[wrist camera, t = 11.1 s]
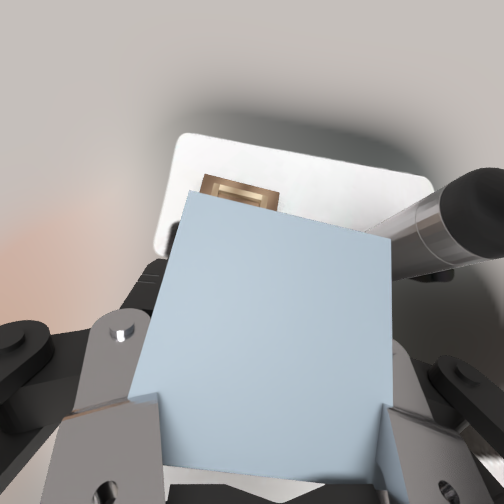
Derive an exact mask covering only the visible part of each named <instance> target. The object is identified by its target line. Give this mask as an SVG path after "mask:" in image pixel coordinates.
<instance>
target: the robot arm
mask: <svg viewBox="0 0 504 504" xmlns="http://www.w3.org/2000/svg"><path fill="white" fill-rule="evenodd" d="M364 233H368V234H372V235H376V236H380V237H384V238H389V239H391V282H392V281H397V280H402V279H406V278H411V277H416V276H420V275H425V274H429V273H434V272H439V271H443V270H448V269H453V268H457V267H462V266H466V265H470V264H475V263H480V262H484V261H489V260H493V259H498V258H503V257H504V169H499V168H480V169H477V170H474V171H471V172H469V173H467V174H465V175H463V176H461V177H460V178H458V179H456V180H454V181H453V182H451V183H449V184H448V185H446V186H444V187H442V188H441V189H439V190H437V191H435V192H434V193H432V194H430V195H428V196H427V197H425V198H423V199H422V200H420V201H418V202H416V203H415V204H413V205H411V206H409V207H408V208H406V209H404V210H402V211H401V212H399V213H397V214H396V215H394V216H392V217H390V218H389V219H387V220H385V221H383V222H382V223H380V224H378V225H376V226H375V227H373V228H371V229H369V230H368V231H366V232H364ZM170 254H171V253H170ZM169 257H170V255H169ZM169 257H168V259H167V260H165V259H156V260H155V261H153V262H151V263H150V264H148V265H147V267H146V268H145V270H144V272H143V273H142V275H141V276H140V278H139V279H138V282H136V284H135V285H134V287H133V289H132V290H131V292H130V293H129V295H128V297H127V298H126V299H125V301H124V303H123V304H122V306H121V307H120V309H119V310H116V311H112V312H110V313H108V314H106V315H104V316H102V317H101V318H99V319H98V320H97V321H96V322H95V323H94V325H93V326H92V328H89V329H85V330H80V331H74V332H68V333H61V334H54V335H51V334H50V331H49V328H48V327H47V325H45V324H44V323H42V322H39V321H32V320H23V321H16V322H11V323H7V324H4V325H1V326H0V495H1V493H2V492H3V491H4V490H5V489H6V487H7V486H8V485H9V484H10V483H11V481H12V480H13V479H14V478H15V477H16V476H17V474H18V473H19V472H20V471H21V470H22V468H23V467H24V466H25V465H26V464H27V463H28V461H29V460H30V459H31V458H32V456H33V455H34V454H35V453H36V452H37V451H38V449H39V448H40V447H41V446H42V445H43V444H44V442H45V441H46V440H47V439H48V438H49V436H50V435H51V434H52V433H53V432H54V430H55V429H56V428H57V427H58V426H59V425H60V426H59V430H58V433H57V436H56V440H55V444H54V448H53V453H52V456H51V460H50V465H49V469H48V473H47V477H46V481H45V485H44V489H43V493H42V497H41V502H40V504H504V488H503V487H502V486H501V484H500V483H499V482H498V481H497V480H496V479H495V478H494V477H493V475H492V474H491V473H490V472H489V471H488V470H487V469H486V468H485V466H484V465H483V464H482V463H481V462H480V461H479V460H478V459H477V457H476V456H475V455H474V454H473V453H472V452H471V451H470V450H469V448H468V447H467V445H466V443H465V441H464V440H463V439H462V437H461V436H460V435H459V433H460V432H461V431H462V430H463V429H465V428H466V427H467V426H468V425H469V424H471V426H472V427H473V428H474V429H475V430H476V431H477V432H478V433H479V434H480V435H481V436H482V437H483V438H484V439H485V440H486V441H487V442H488V443H489V444H490V445H491V446H492V447H493V448H494V449H495V450H496V451H497V452H498V453H499V454H500V456H501V457H502V458H503V459H504V392H503V391H502V390H501V389H500V388H499V387H497V386H496V385H495V384H494V383H493V382H491V381H490V380H489V379H488V378H487V377H485V376H484V375H483V374H482V373H481V372H479V371H478V370H477V369H475V368H474V367H472V366H471V365H469V364H468V363H466V362H464V361H462V360H460V359H458V358H455V357H452V356H447V355H444V356H440V357H439V358H438V359H437V360H436V361H435V363H434V364H433V365H430V364H427V363H424V362H421V361H419V360H416V359H413V358H410V357H409V356H408V354H407V352H406V351H405V349H404V348H403V347H402V346H401V345H400V344H399V343H398V342H396V341H395V340H394V339H392V366H393V406H390V405H387V404H384V403H382V411H381V418H380V426H379V433H378V441H377V448H376V456H375V462H376V463H377V464H378V465H379V467H380V468H381V470H382V473H383V475H384V479H385V482H386V487H387V491H385V490H376V489H375V488H374V485H373V484H325V485H324V486H322V487H319V488H317V489H315V490H312V491H310V492H308V493H306V494H303V495H301V496H299V497H296V498H294V499H292V500H289V501H287V502H284V503H275V502H272V501H269V500H267V499H264V498H261V497H258V496H256V495H253V494H250V493H247V492H245V491H242V490H239V489H236V488H234V487H231V486H228V485H226V484H171V485H170V490H169V495H168V501H166V502H165V492H164V478H163V464H162V450H161V436H160V422H159V408H158V395H157V392H154V393H149V394H145V395H140V396H135V397H131V398H128V394H129V391H130V388H131V384H132V381H133V378H134V374H135V371H136V368H137V364H138V361H139V358H140V354H141V351H142V348H143V344H144V341H145V337H146V334H147V331H148V327H149V324H150V321H151V317H152V314H153V311H154V307H155V304H156V301H157V297H158V294H159V291H160V287H161V284H162V281H163V277H164V274H165V270H166V267H167V264H168V260H169ZM60 423H61V424H60Z"/></svg>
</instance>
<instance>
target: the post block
mask: <svg viewBox="0 0 504 504" xmlns="http://www.w3.org/2000/svg"><path fill="white" fill-rule="evenodd" d="M154 392H157V395H158V408H159V422H160V436H161V450H162V464H163V465H167V466H176V467H184V468H193V469H202V470H211V471H219V472H228V473H237V474H245V475H254V476H263V477H272V478H280V479H289V480H298V481H307V482H315V483H324V484H373V485H374V488H375V489H376V490H385V491H387V487H386V482H385V479H384V475H383V473H382V470H381V468H380V467H379V465H378V464H377V463H376V462H375V456H376V448H377V441H378V433H379V426H380V418H381V411H382V403H384V404H387V405H390V406H393V366H392V286H391V239H389V238H384V237H380V236H376V235H372V234H368V233H364V232H360V231H356V230H351V229H347V228H343V227H339V226H335V225H331V224H327V223H322V222H318V221H314V220H310V219H306V218H302V217H298V216H294V215H289V214H285V213H281V212H277V211H273V210H269V209H265V208H261V207H256V206H252V205H248V204H244V203H240V202H236V201H232V200H228V199H223V198H219V197H215V196H211V195H207V194H203V193H199V192H195V191H190V190H189V193H188V197H187V200H186V203H185V207H184V210H183V214H182V217H181V220H180V224H179V227H178V230H177V234H176V237H175V240H174V244H173V247H172V250H171V254H170V257H169V260H168V264H167V267H166V270H165V274H164V277H163V281H162V284H161V287H160V291H159V294H158V297H157V301H156V304H155V307H154V311H153V314H152V317H151V321H150V324H149V327H148V331H147V334H146V337H145V341H144V344H143V348H142V351H141V354H140V358H139V361H138V364H137V368H136V371H135V374H134V378H133V381H132V384H131V388H130V391H129V394H128V398H131V397H135V396H140V395H145V394H149V393H154Z"/></svg>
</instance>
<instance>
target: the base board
mask: <svg viewBox="0 0 504 504" xmlns="http://www.w3.org/2000/svg"><path fill="white" fill-rule="evenodd" d="M199 193H203V194H207V195H211V196H215V197H219V198H223V199H228V200H232V201H236V202H240V203H244V204H248V205H252V206H256V207H261V208H265V209H269V210H273V211H277V206H278V200H279V192H275V191H271V190H267V189H263V188H259V187H255V186H251V185H247V184H243V183H239V182H235V181H231V180H227V179H223V178H220V177H216V176H212V175H208V174H204V178H203V182H202V185H201V189H200V192H199Z"/></svg>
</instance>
